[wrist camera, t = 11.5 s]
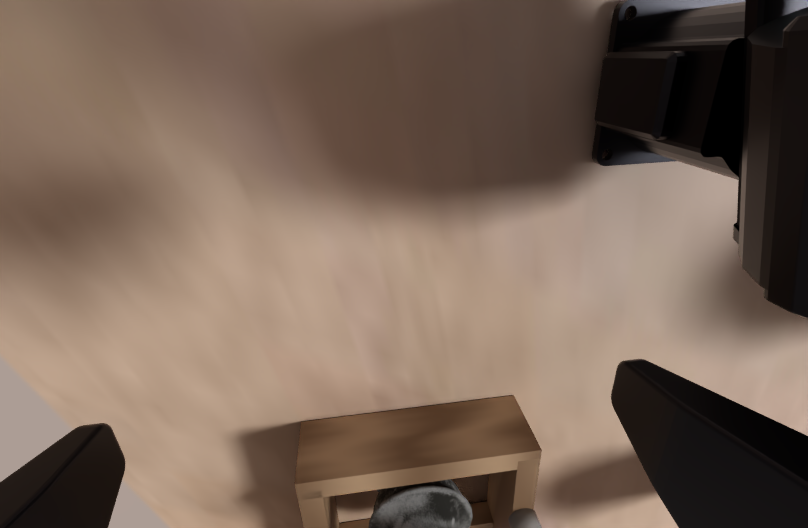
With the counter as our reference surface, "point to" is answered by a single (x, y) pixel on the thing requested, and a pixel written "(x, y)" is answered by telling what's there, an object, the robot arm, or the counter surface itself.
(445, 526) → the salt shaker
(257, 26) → the counter surface
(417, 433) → the holder
